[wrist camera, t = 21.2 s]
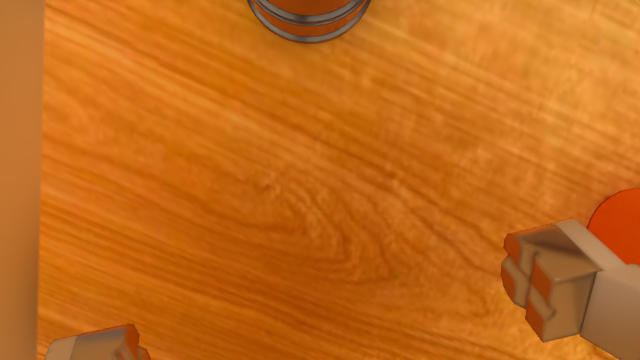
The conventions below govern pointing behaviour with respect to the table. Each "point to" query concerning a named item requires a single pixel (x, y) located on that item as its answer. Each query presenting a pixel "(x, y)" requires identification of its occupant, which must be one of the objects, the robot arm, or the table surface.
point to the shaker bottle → (619, 225)
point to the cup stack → (309, 18)
